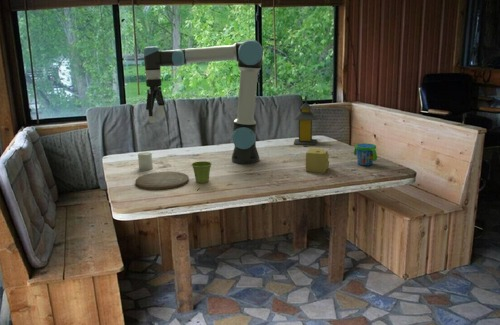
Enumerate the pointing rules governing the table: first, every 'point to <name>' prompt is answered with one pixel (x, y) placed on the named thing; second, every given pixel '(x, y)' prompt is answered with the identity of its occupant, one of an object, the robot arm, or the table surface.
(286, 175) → the table surface
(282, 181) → the table surface
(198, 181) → the plant pot
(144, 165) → the grey small cylinder
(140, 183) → the trivet
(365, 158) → the snack cup
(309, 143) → the lantern
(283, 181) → the table surface
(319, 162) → the cheese
